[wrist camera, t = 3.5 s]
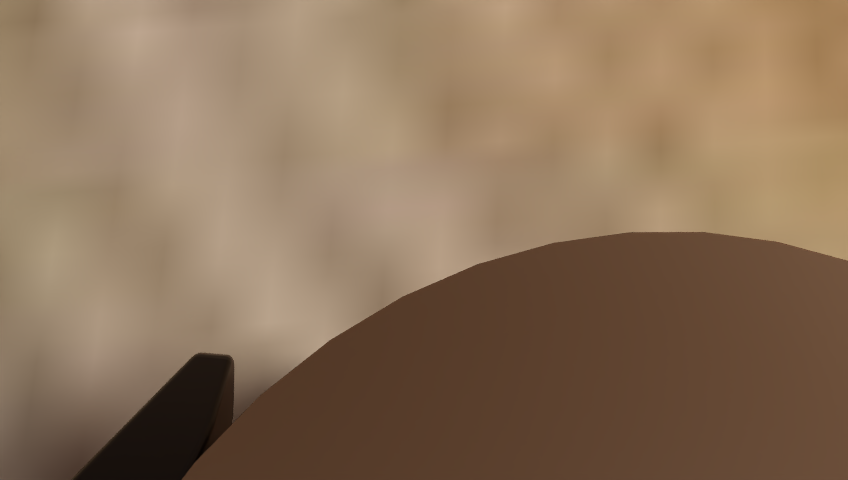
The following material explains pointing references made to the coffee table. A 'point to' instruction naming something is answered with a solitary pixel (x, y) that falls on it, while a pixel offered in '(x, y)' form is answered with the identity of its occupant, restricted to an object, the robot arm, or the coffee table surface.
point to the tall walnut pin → (574, 373)
